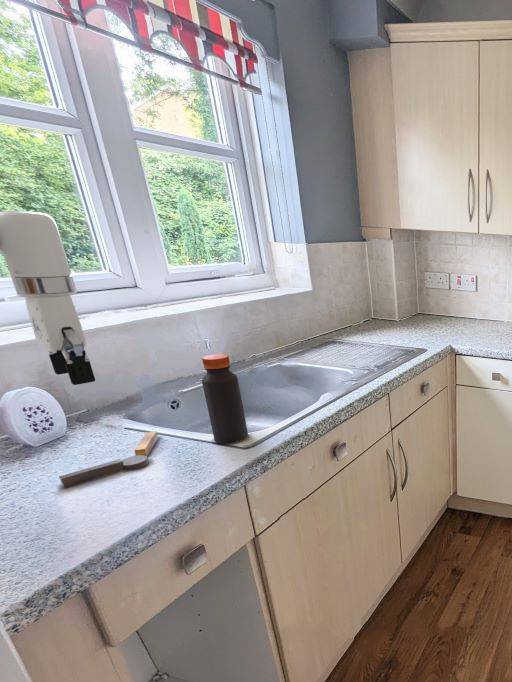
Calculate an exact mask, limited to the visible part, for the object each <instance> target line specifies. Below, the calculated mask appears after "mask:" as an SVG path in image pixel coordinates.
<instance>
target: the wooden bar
mask: <svg viewBox="0 0 512 682" xmlns="http://www.w3.org/2000/svg"><path fill="white" fill-rule="evenodd" d="M158 439H159V435H158V430H154V431H147V432H146V433H145V434H144V436H143V437H142V439H140V441H139V443H138V444H137V445H136V447H135V448H134V454H135V456H139V455H143V456H146V457H148V456H149V454H150V452H151V451H152V449H153V447H154V446H155V444H156V443H157V441H158Z"/></svg>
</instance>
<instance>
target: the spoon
mask: <svg viewBox="0 0 512 682" xmlns="http://www.w3.org/2000/svg"><path fill="white" fill-rule="evenodd" d="M148 465H149V459H148V456H143V455H139V456H136V455H133V456H129V457H125V458H123V459H121V458H119V459H115V460H110V461H107V462H105V463H104V462H103V463H101V464H97V465H94V466H90V467H87V468H83V469H80V470H76V471H73V472H69V473H67V474H63V475H59V476H58V478H59V481H60V483H61V486H62V487H63V488H64V489H66V488H70V487H73V486H77V485H79V484H83V483H86V482H90V481H93V480H96V479H99V478H102V477H105V476H110V475H112V474H113V475H114V474H116V473H119V472H122V471H134V470H135V471H136V470H139V469H141V468H144V467H146V466H148Z"/></svg>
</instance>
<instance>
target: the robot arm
mask: <svg viewBox="0 0 512 682" xmlns="http://www.w3.org/2000/svg"><path fill="white" fill-rule="evenodd" d="M0 254H2V255H3V257H4V260H5V263H6V266H7V270H8V272H9V275H10V278H11V281H12V284H13V286H14V288H15V289H14V290H15V292H16V296H17V297H19V298H20V297H21V298H24V300H25V306H26V309H27V314H28V317H29V320H30V323H31V326H32V327H31V328H32V330H33V334H34V337H35V341H36V344H37V345H38V346H39V347H40V348H41V349H43V350H45V351H47V352H48V356H49V359H50V363H51V365H52V369H53V371H54V374H56V375H64V374H68V377H69V380H70V384H71V385H74V386H78V385H83V384H88V383H94V382H96V378H95V374H94V371H93V368H92V364H91V361H90V359H89V356H88V354H87V352H86V350H85V349H86V348H87V340H86V337H85V334H84V331H83V330H84V329H83V327H82V324H81V321H80V318H79V314H78V313H77V309H76V306H75V304H74V301H73V299H72V296H74V295H77V294H78V291H77V288H76V284H75V281H74V278H73V275H72V270H71V268H70V265H69V262H68V258H67V254H66V251H65V247H64V244H63V241H62V237H61V235H60V231H59V228H58V225H57V222H56V221H55V219H54V218H53V216H51V215H49V214H47V213H43V212H34V211H16V210H15V211H12V210H11V211H10V210H7V211H6V210H1V211H0Z"/></svg>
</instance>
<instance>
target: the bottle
mask: <svg viewBox="0 0 512 682" xmlns="http://www.w3.org/2000/svg"><path fill="white" fill-rule="evenodd" d="M201 361H202V364H203V368H204V370H205V371H206V373H205V374H204V376H203V377H202V379H201V384H202V389H203V393H204V398H205V403H206V407H207V412H208V417H209V422H210V426H211V430H212V435H213V439H214V442H215V443H216V444H220V445H231V444H235V443H239V442H242V441H244V440H246V439H247V438H248V437H249V432H248V426H247V421H246V415H245V411H244V405H243V400H242V395H241V394H242V393H241V390H240V389H241V388H240V384H239V383H240V382H239V379H238V375H237V374H235V373H234V372H233V371H231V370H230V368H231V363H230V362H231V361H230V357H229V354H224V353H215V354H214V353H213V354H207V355H204V356H203V357H202V358H201Z"/></svg>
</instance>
